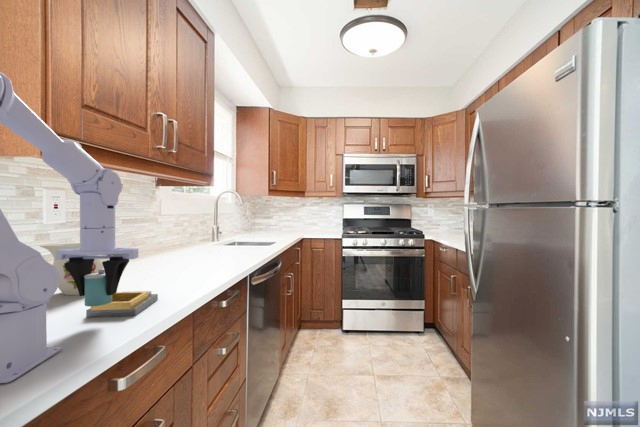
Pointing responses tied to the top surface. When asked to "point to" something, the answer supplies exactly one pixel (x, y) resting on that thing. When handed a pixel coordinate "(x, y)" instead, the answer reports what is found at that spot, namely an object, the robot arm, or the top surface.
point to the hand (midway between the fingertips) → (98, 294)
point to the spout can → (96, 289)
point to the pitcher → (66, 280)
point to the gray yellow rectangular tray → (124, 304)
